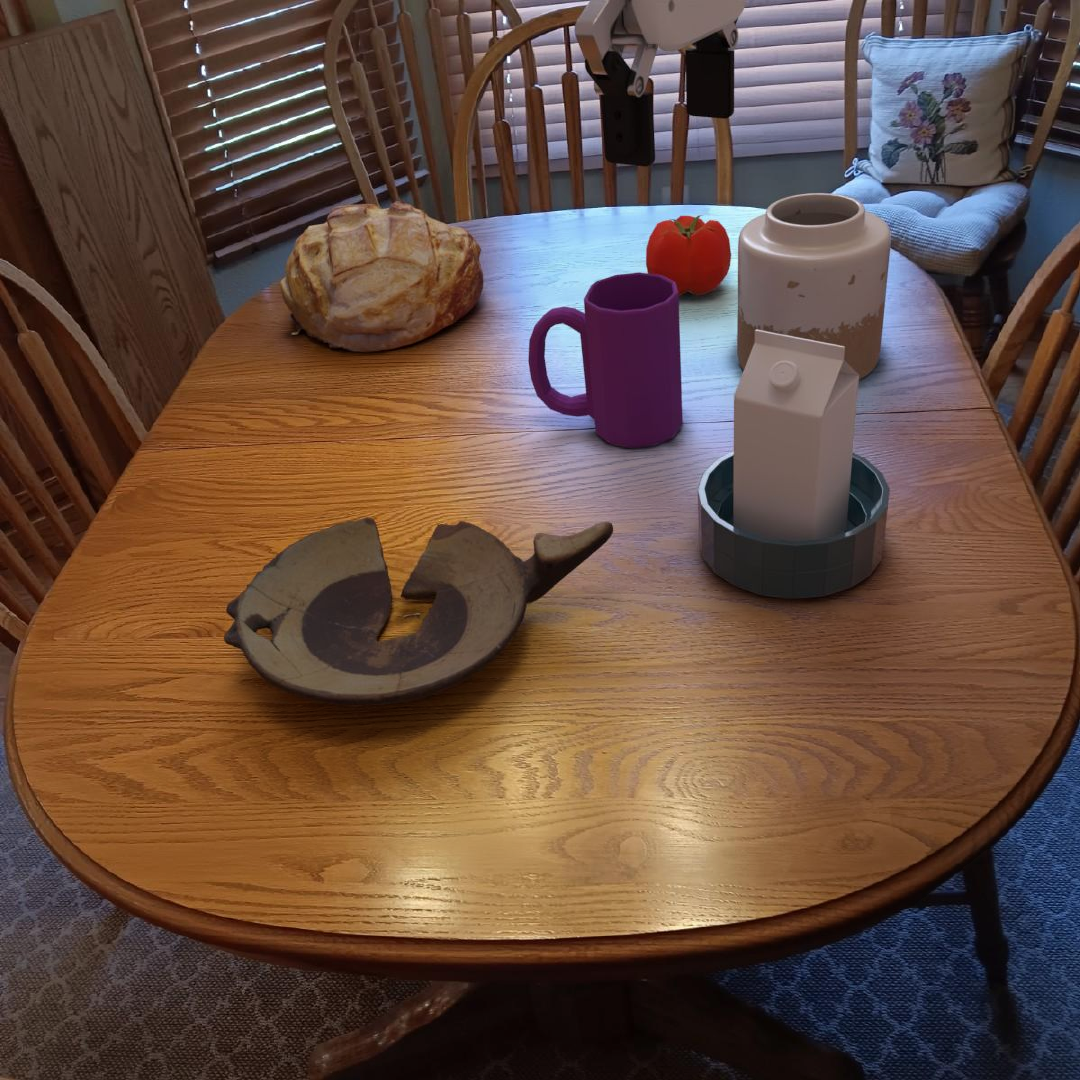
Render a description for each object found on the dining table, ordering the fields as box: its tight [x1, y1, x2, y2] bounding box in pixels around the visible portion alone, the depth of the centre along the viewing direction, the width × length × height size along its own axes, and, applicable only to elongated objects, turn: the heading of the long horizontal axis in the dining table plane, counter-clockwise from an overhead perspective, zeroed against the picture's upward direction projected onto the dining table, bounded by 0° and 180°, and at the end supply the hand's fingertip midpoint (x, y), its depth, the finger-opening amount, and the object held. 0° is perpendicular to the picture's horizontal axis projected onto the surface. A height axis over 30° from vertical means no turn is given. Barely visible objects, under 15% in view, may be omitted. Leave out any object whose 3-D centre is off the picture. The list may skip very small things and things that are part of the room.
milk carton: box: [733, 329, 860, 541], centre depth 83 cm, size 7×7×19 cm
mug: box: [528, 272, 684, 449], centre depth 104 cm, size 9×16×15 cm, turn 75°
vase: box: [736, 192, 892, 381], centre depth 111 cm, size 15×15×17 cm
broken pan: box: [223, 516, 614, 707], centre depth 82 cm, size 22×30×8 cm
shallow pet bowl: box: [697, 450, 891, 600], centre depth 88 cm, size 15×15×6 cm
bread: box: [279, 199, 484, 353], centre depth 134 cm, size 25×27×15 cm
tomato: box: [645, 214, 732, 296], centre depth 131 cm, size 11×11×9 cm
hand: (672, 138), depth 65 cm, fingers open, 9 cm apart
